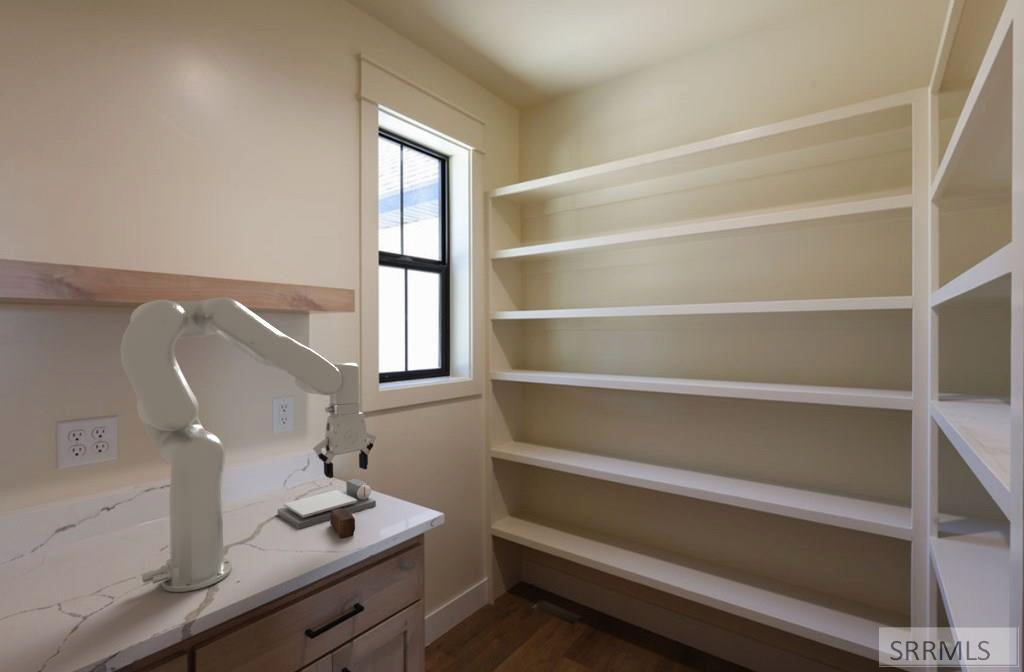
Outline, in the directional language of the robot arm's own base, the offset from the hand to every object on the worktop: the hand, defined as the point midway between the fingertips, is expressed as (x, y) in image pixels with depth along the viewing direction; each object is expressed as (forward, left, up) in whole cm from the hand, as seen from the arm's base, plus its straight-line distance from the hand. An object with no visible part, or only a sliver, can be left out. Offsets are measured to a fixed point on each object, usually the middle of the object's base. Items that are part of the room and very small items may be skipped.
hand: (346, 472), depth 127 cm
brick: (-1, 0, -15) cm, 15 cm away
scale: (+3, +17, -15) cm, 23 cm away
